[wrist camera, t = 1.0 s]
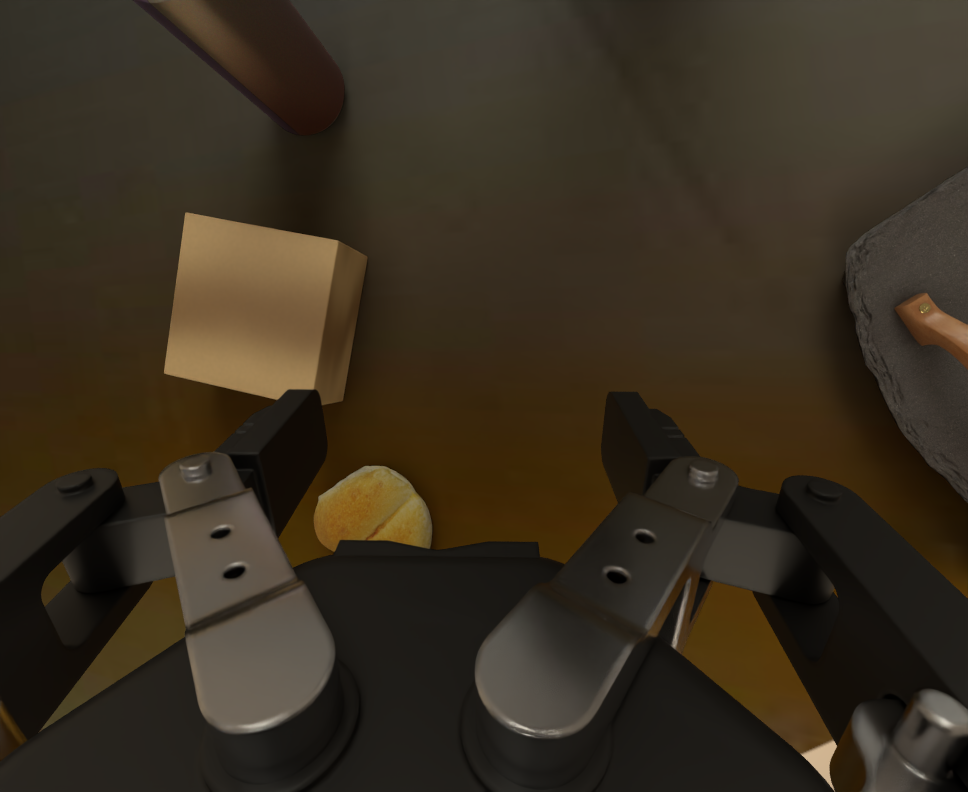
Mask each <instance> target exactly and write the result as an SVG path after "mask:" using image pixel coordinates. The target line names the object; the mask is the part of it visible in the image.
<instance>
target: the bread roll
mask: <svg viewBox="0 0 968 792" xmlns="http://www.w3.org/2000/svg"><path fill="white" fill-rule="evenodd" d="M314 527H315V531H316V534H317V537H318V539H319V541H320V542H321V543H322V544H323V545H324V546H325V547H327V548H328V549H330V550H332V551H334V552H335V550H336V548H337V545H338V543H339V541H340V540H389V541H393V542H398V543H403V544H408V545H413V546H418V547H423V548H428V549H430V546H431V541H432V522H431V517H430V513H429V510H428V508H427V506H426V504H425V502H424V500H423V499H422V498H421V497H420V496H419V495H418V494H417V493H416V491H415V490H414V488H413V486H412V485H411V484H410V482H409V481H408V480H407V479H406V478H404V477H403V476H402V475H400V474H399V473H397V472H396V471H394V470H392V469H389V468H388V467H384V466H364V467H363V468H361V469H359V470H357V471H356V472H354V473H352V474H351V475H349V476H347V478H345V479H344V480H341V481H340V482H338V483H337V484H336V485H335V486H334V487H333V488H331V489H329V490H328V491H327V492H325V493H324V494H322V495H320V496H319V502H318V505H317V507H316V510H315V514H314Z"/></svg>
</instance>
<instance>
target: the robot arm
mask: <svg viewBox="0 0 968 792" xmlns="http://www.w3.org/2000/svg"><path fill="white" fill-rule="evenodd" d="M326 454H327V436H326V429H325V423H324V416H323V409H322V403H321V397H320V394H319V392H318V391H317V390H316V389H288V390H287V391H286V392H285V393H284V394H283V395H282V396H281V397H280V398H279V399H278V400H277V401H276V402H275V403H274V404H273V405H272V406H268V407H266V408H264V409H262V410H260V411H258V412H256V413H254V414H253V415H252V416H251V417H249V418H248V419H247V420H246V421H245V422H244V423H243V426H240V427H239V428H238V429H237V430H236V431H235V434H232V435H231V436H230V437H229V438H228V439H227V440H226V441H225V442H224V443H223V444H222V445H221V446H220V447H219V448H218V449H216V450H215V451H214V452H208V453H200V454H195V455H191V456H188V457H185V458H182V459H180V460H177V461H175V462H173V463H172V464H170V465H169V466H167V467H166V468H165V469H164V470H162V472H161V473H160V475H159V482H155V483H149V484H143V485H137V486H131V487H125V488H122V486H121V483H120V480H119V477H118V475H117V473H116V472H115V471H114V470H111V469H105V468H97V469H88V470H83V471H78V472H74V473H71V474H68V475H65V476H63V477H60V478H58V479H55V480H53V481H51V482H49V483H48V484H46V485H44V486H43V487H41V488H40V489H39V490H37V491H36V492H34V493H33V494H32V495H30V496H29V497H28V498H26V499H25V500H24V501H22V502H21V503H19V504H18V505H17V506H15V507H14V508H13V509H11V510H10V511H8V512H7V513H6V514H4V515H3V516H2V517H0V792H834V790H835V792H968V599H967V598H966V597H965V596H964V595H963V594H962V593H961V592H960V591H959V590H958V589H957V588H956V587H955V586H953V585H952V584H951V583H950V582H949V581H948V580H947V579H946V578H945V577H944V576H943V575H942V574H941V573H940V572H939V571H938V570H937V569H935V568H934V567H933V566H932V565H931V564H930V563H929V562H928V561H927V560H926V559H925V558H924V557H923V556H922V555H921V554H920V553H918V552H917V551H916V550H915V549H914V548H913V547H912V546H911V545H910V544H909V543H908V542H907V541H906V540H905V539H904V538H903V537H902V536H900V535H899V534H898V533H897V532H896V531H895V530H894V529H893V528H892V527H891V526H890V525H889V524H888V523H887V522H886V521H885V520H883V519H882V518H881V517H880V516H879V515H878V514H877V513H876V512H875V511H874V510H873V509H872V508H871V507H870V506H869V505H868V504H866V503H865V502H864V501H863V500H862V499H861V498H860V497H859V496H858V495H857V494H855V493H854V492H853V491H851V490H850V489H848V488H846V487H844V486H842V485H840V484H838V483H835V482H832V481H830V480H826V479H823V478H819V477H813V476H792V477H789V478H787V479H785V480H784V481H783V483H782V487H781V490H780V493H779V494H776V493H771V492H765V491H760V490H755V489H750V488H745V487H742V486H738V482H739V481H738V477H737V475H736V474H735V472H733V471H732V470H731V469H730V468H729V467H727V466H725V465H724V464H722V463H719V462H717V461H714V460H711V459H708V458H703V457H700V456H699V454H698V453H697V452H696V450H695V449H694V448H693V446H692V445H691V444H690V442H689V441H688V440H687V438H684V435H683V433H682V432H681V431H680V430H678V427H677V425H676V424H675V423H674V421H673V420H672V419H671V418H670V417H669V416H667V415H666V414H664V413H662V412H661V411H659V410H657V409H649V408H648V407H647V405H646V404H645V402H644V401H643V399H642V398H641V397H640V395H639V394H638V392H609V393H608V395H607V399H606V407H605V416H604V425H603V434H602V443H601V454H602V462H603V465H604V468H605V470H606V473H607V476H608V478H609V481H610V483H611V486H612V488H613V491H614V494H615V496H616V499H617V501H618V505H617V506H616V507H615V508H614V509H613V510H612V511H611V513H610V514H609V515H608V516H607V517H606V518H605V519H604V521H603V522H602V523H601V524H600V525H599V526H598V527H597V529H596V530H595V531H594V532H593V533H592V534H591V536H590V537H589V538H588V539H587V540H586V541H585V542H584V544H583V545H582V546H581V547H580V548H579V549H578V550H577V552H576V553H575V554H574V555H573V556H572V557H571V558H570V560H569V561H568V562H567V563H566V564H563V563H560V562H557V561H554V560H551V559H548V558H543V557H540V555H539V547H538V542H483V543H478V544H472V545H466V546H460V547H454V548H448V549H442V550H433V549H428V548H423V547H418V546H413V545H408V544H403V543H398V542H393V541H389V540H340V541H339V543H338V545H337V548H336V550H335V552H334V555H329V556H325V557H321V558H317V559H314V560H311V561H308V562H305V563H303V564H301V565H298V566H296V567H294V568H292V566H291V564H290V562H289V560H288V558H287V556H286V554H285V552H284V550H283V548H282V546H281V544H280V542H279V540H278V538H279V536H280V534H281V533H282V531H283V529H284V528H285V526H286V524H287V523H288V521H289V519H290V518H291V516H292V514H293V513H294V511H295V509H296V508H297V506H298V504H299V503H300V501H301V499H302V498H303V496H304V494H305V493H306V491H307V489H308V488H309V486H310V484H311V483H312V481H313V479H314V478H315V476H316V474H317V473H318V471H319V469H320V468H321V466H322V464H323V463H324V461H325V458H326ZM61 561H62V562H63V564H64V566H65V568H66V570H67V573H68V575H69V577H70V579H71V581H70V582H69V583H68V584H67V585H66V586H65V587H64V588H63V589H62V590H61V591H60V592H59V593H58V594H57V595H56V596H55V597H54V598H53V599H52V600H51V601H50V602H49V603H48V604H47V605H46V606H45V607H44V605H43V603H42V600H41V589H42V586H43V583H44V581H45V579H46V577H47V576H48V574H49V573H50V572H51V571H52V570H53V569H54V568H55V567H56V566H57V565H58V564H59V563H60V562H61ZM174 576H176V581H177V586H178V591H179V596H180V601H181V606H182V611H183V616H184V621H185V626H186V631H185V637H184V638H183V639H181V640H180V641H178V642H176V643H175V644H173V645H172V646H170V647H169V648H167V649H166V650H164V651H163V652H161V653H160V654H158V655H157V656H155V657H154V658H152V659H151V660H149V661H148V662H146V663H144V664H143V665H141V666H140V667H138V668H137V669H135V670H134V671H132V672H131V673H129V674H128V675H126V676H125V677H123V678H122V679H120V680H118V681H117V682H115V683H114V684H112V685H111V686H109V687H108V688H106V689H105V690H103V691H102V692H100V693H99V694H97V695H96V696H94V697H92V698H91V699H89V700H88V701H86V702H85V703H83V704H82V705H80V706H79V707H77V708H76V709H74V710H73V711H71V712H70V713H68V714H67V715H65V716H63V717H62V718H60V719H59V720H57V721H56V722H54V723H53V724H51V725H50V726H48V727H47V728H45V729H44V730H42V731H41V732H39V731H40V730H41V728H42V727H43V726H44V725H45V723H46V722H47V721H48V719H49V718H50V717H51V715H52V714H53V713H54V711H55V710H56V709H57V708H58V706H59V705H60V704H61V702H62V701H63V700H64V698H65V697H66V696H67V695H68V693H69V692H70V691H71V689H72V688H73V687H74V685H75V684H76V683H77V681H78V680H79V679H80V678H81V676H82V675H83V674H84V672H85V671H86V670H87V668H88V667H89V666H90V665H91V663H92V662H93V661H94V659H95V658H96V657H97V655H98V654H99V653H100V651H101V650H102V649H103V648H104V646H105V645H106V644H107V642H108V641H109V640H110V638H111V637H112V636H113V635H114V633H115V632H116V631H117V629H118V628H119V627H120V625H121V624H122V623H123V621H124V620H125V619H126V618H127V616H128V615H129V614H130V612H131V611H132V610H133V608H134V607H135V606H136V604H137V603H138V602H139V601H140V599H141V598H142V597H143V595H144V594H145V593H146V591H147V590H148V589H149V588H150V586H151V584H152V582H153V581H155V580H160V579H164V578H169V577H174ZM713 581H715V582H720V583H724V584H728V585H732V586H736V587H740V588H744V589H748V590H752V591H753V594H754V597H755V598H756V600H757V602H758V604H759V606H760V607H761V609H762V611H763V613H764V615H765V616H766V618H767V620H768V622H769V624H770V625H771V627H772V629H773V631H774V633H775V635H776V636H777V638H778V640H779V642H780V644H781V645H782V647H783V649H784V651H785V653H786V654H787V656H788V658H789V660H790V662H791V663H792V665H793V667H794V669H795V671H796V672H797V674H798V676H799V678H800V680H801V682H802V683H803V685H804V687H805V689H806V691H807V692H808V694H809V696H810V698H811V700H812V701H813V703H814V705H815V707H816V709H817V710H818V712H819V714H820V716H821V718H822V719H823V721H824V723H825V725H826V727H827V729H828V730H829V732H830V734H831V736H832V738H833V739H834V741H835V743H836V745H837V748H836V750H835V752H834V754H833V756H832V758H831V762H830V777H831V781H832V785H833V787H834V790H833V789H832V788H831V787H830V785H829V784H828V783H827V781H826V780H825V779H824V778H823V777H822V776H821V775H820V774H819V773H818V771H817V770H816V769H815V768H814V767H813V766H812V765H811V764H810V763H809V762H808V761H807V760H806V759H805V758H804V757H803V756H802V755H801V754H800V753H798V752H797V751H796V750H795V749H794V748H793V747H792V746H791V745H789V744H788V743H787V742H786V741H785V740H783V739H782V738H781V737H780V736H779V735H777V734H776V733H775V732H774V731H773V730H771V729H770V728H769V727H768V726H767V725H765V724H764V723H763V722H762V721H761V720H759V719H758V718H757V717H756V716H755V715H753V714H752V713H751V712H750V711H749V710H747V709H746V708H745V707H744V706H743V705H741V704H740V703H739V702H738V701H737V700H735V699H734V698H733V697H732V696H731V695H729V694H728V693H727V692H726V691H725V690H723V689H722V688H721V687H720V686H719V685H717V684H716V683H715V682H714V681H713V680H711V679H710V678H709V677H708V676H707V675H705V674H704V673H703V672H702V671H701V670H699V669H698V668H697V667H696V666H695V665H693V664H692V663H691V662H690V661H689V660H687V659H686V658H685V657H684V656H683V655H682V652H683V649H684V647H685V644H686V641H687V639H688V637H689V635H690V632H691V630H692V628H693V626H694V624H695V622H696V619H697V617H698V615H699V613H700V611H701V609H702V607H703V604H704V602H705V600H706V598H707V596H708V594H709V591H710V589H711V587H712V584H713ZM834 587H835V589H836V592H837V595H838V598H837V596H836V595H835V594H834V592H833V590H834ZM38 732H39V733H38Z"/></svg>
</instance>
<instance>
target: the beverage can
mask: <svg viewBox="0 0 968 792" xmlns="http://www.w3.org/2000/svg"><path fill="white" fill-rule="evenodd" d="M133 1H134V2H135V3H137V4H138V5H139V6H140V7H141V8H142V9H144V10H145V11H146V12H147V13H148V14H149V15H151V16H152V17H153V18H154V19H155V20H156V21H158V22H159V23H160V24H161V25H162V26H164V27H165V28H166V29H167V30H168V31H169V32H171V33H172V34H173V35H174V36H175V37H176V38H178V39H179V40H180V41H181V42H182V43H183V44H185V45H186V46H187V47H188V48H189V49H190V50H192V51H193V52H194V53H195V54H196V55H198V56H199V57H200V58H201V59H202V60H203V61H205V62H206V63H207V64H208V65H209V66H210V67H212V68H213V69H214V70H215V71H216V72H217V73H219V74H220V75H221V76H222V77H223V78H224V79H226V80H227V81H228V82H229V83H230V84H232V85H233V86H234V87H235V88H236V89H237V90H239V91H240V92H241V93H242V94H243V95H244V96H246V97H247V98H248V99H249V100H250V101H251V102H253V103H254V104H255V105H256V106H257V107H259V108H260V109H261V110H262V111H263V112H264V113H266V114H267V115H268V116H269V117H270V118H271V119H273V120H274V121H275V122H276V123H277V124H278V125H280V126H281V127H282V128H283V129H285V130H286V131H288V132H290V133H293V134H296V135H312V134H316V133H319V132H321V131H323V130H325V129H327V128H328V127H329V126H330V125H332V123H333V122H334V121H335V120H336V118H337V117H338V115H339V113H340V111H341V109H342V105H343V101H344V80H343V76H342V73H341V71H340V69H339V67H338V65H337V64H336V63H335V61H334V60H333V59H332V57H331V56H330V54H329V53H328V52H327V50H326V49H325V48H324V46H323V45H322V44H321V42H320V41H319V40H318V38H317V37H316V35H315V34H314V33H313V31H312V30H311V29H310V27H309V26H308V25H307V23H306V22H305V21H304V19H303V18H302V16H301V15H300V14H299V12H298V11H297V10H296V8H295V7H294V6H293V4H292V3H291V2H290V0H133Z"/></svg>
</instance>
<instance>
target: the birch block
mask: <svg viewBox="0 0 968 792" xmlns="http://www.w3.org/2000/svg"><path fill="white" fill-rule="evenodd" d="M367 259H368V257H367V256H365V255H363V254H362V253H360V252H358V251H356V250H354V249H352V248H351V247H349V246H347V245H345V244H343V243H342V242H340V241H338V240H333V239H327V238H322V237H316V236H311V235H305V234H300V233H295V232H289V231H284V230H278V229H273V228H267V227H262V226H256V225H251V224H246V223H240V222H235V221H229V220H224V219H218V218H213V217H208V216H202V215H197V214H191V213H186V214H185V220H184V228H183V235H182V243H181V250H180V258H179V265H178V272H177V280H176V287H175V295H174V302H173V310H172V317H171V325H170V332H169V339H168V347H167V354H166V362H165V369H164V373H165V374H168V375H172V376H176V377H181V378H185V379H189V380H194V381H198V382H202V383H207V384H211V385H215V386H219V387H224V388H228V389H232V390H237V391H241V392H245V393H250V394H254V395H258V396H262V397H267V398H271V399H275V400H278V399H279V398H280V397H281V396H282V395H283V394H284V393H285V392H286V391H287V390H288V389H316V390H317V391H318V392H319V394H320V397H321V403H322V405H325V404H331V403H336V402H341V401H343V397H344V391H345V385H346V380H347V374H348V368H349V362H350V357H351V351H352V345H353V340H354V334H355V328H356V322H357V317H358V311H359V305H360V299H361V294H362V288H363V282H364V276H365V271H366V265H367Z"/></svg>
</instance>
